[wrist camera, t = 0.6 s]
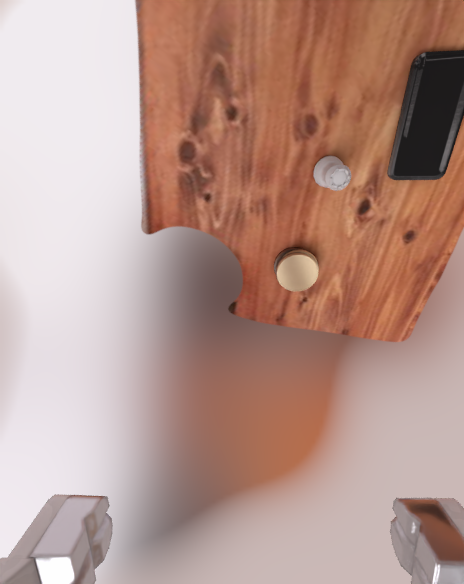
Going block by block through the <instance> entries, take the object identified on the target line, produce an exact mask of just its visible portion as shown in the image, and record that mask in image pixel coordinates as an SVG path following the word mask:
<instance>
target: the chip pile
mask: <svg viewBox="0 0 464 584" xmlns="http://www.w3.org/2000/svg"><path fill="white" fill-rule="evenodd" d="M318 270H319V266H318V262H317V260H316V258H315V256H314V255H313V254H311V253H310V252H308V251H306V250H304V249H302V248H298V247H292V248H288V249H285V250H283V251H282V252H281V253H279V255H278V256H277V257H276V259H275V262H274V271H275V274H276V277H277V280H278V282H279V283H280V284H281V285H282V286H283V287H284V288H285V289H287V290H290V291H303V290H306V289H308V288H309V287H311V286H312V285H313V284H314V283H315V281H316V279H317V277H318Z"/></svg>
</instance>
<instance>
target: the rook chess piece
mask: <svg viewBox="0 0 464 584" xmlns="http://www.w3.org/2000/svg"><path fill="white" fill-rule="evenodd" d="M314 179H315V181H316V182H317V183H318V184H319V185H320V186H323V187H326V188H327V187H329V188H330V189H331V190H335V191H337V190H342V189H343V188H345V187H346V186H347V185H348V184H349V182H350V180H351V172H350V169H349V168H348V167H347V166H345V165H343V162H342V161H341V160H340V159H338V158H337V157H334V156H327V157H324V158H322V159H321V160H320V161H319V162H318V163H317V164H316V166H315V169H314Z"/></svg>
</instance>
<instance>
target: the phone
mask: <svg viewBox="0 0 464 584" xmlns="http://www.w3.org/2000/svg"><path fill="white" fill-rule="evenodd" d="M463 116H464V50H459V51H438V52H425V53H423V54H421V55H419V56H417V57H416V58H415V59H414V61H413V62H412V65H411V69H410V74H409V78H408V83H407V87H406V92H405V96H404V100H403V105H402V109H401V114H400V118H399V123H398V127H397V132H396V136H395V141H394V145H393V150H392V154H391V159H390V163H389V168H388V176H389V177H390V178H391V179H394V180H436V179H439V178H441V177H442V176H443V175H444V174H445V172H446V170H447V167H448V164H449V160H450V157H451V154H452V151H453V148H454V145H455V141H456V138H457V135H458V132H459V129H460V126H461V122H462V119H463Z"/></svg>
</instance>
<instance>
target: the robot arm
mask: <svg viewBox="0 0 464 584" xmlns="http://www.w3.org/2000/svg"><path fill="white" fill-rule="evenodd" d="M108 508H109V502H108V497H105V496H85V495H54V496H52V497H51V498H50V499H49V500H48V501H47V502H46V504H45V505H44V507H43V508H42V509H41V511H40V512H39V514H38V515H37V516H36V518H35V519H34V521H33V522H32V524H31V525H30V527H29V528H28V529H27V531H26V532H25V534H24V535H23V536H22V538H21V539H20V541H19V542H18V543H17V545H16V546H15V548H14V549H13V550H12V552H11V553H10V555H9V556H8V558H1V559H0V584H94V583H95V581H96V577H95V568H97V567H98V566H99V564H100V563H102V562H103V560H104V559H105V556H106V554H107V551H108V549H109V545H110V541H111V537H112V519H111V517H110V516H109V515H108V514H107V513H106V512H107V510H108ZM393 510H394V512H395V514H396V517H395V518H394V519H393V520H392V521H391V529H390V533H391V539H392V544H393V547H394V550H395V553H396V556H397V558H398V560H399V563H400V565H401V566H402V567H403V568H404V569H405V570H406V571H407V572H408V573H409V574H410V575H411V576H412V581H411V584H464V508H463V507H462V506H461V504H460V503H459V502H457V501H456V500H455V499H453V498H452V499H450V498H448V499H447V498H434V499H433V498H396V499H395V500H394V503H393Z"/></svg>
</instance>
